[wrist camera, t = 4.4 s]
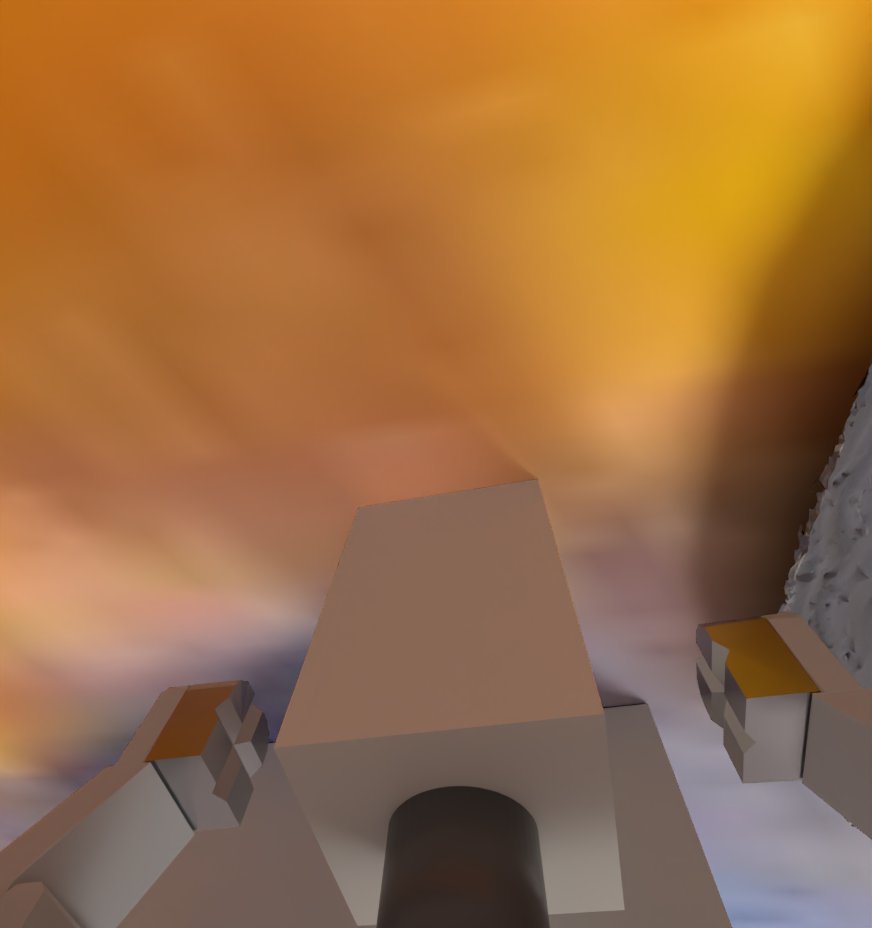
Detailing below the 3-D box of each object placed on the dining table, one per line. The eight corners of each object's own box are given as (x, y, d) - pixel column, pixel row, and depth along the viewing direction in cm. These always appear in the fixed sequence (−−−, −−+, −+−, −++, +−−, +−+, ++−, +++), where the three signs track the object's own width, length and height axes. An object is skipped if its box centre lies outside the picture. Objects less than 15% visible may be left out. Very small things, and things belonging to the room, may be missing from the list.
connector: (359, 507, 12) (202, 947, 5) (538, 478, 12) (663, 922, 4) (398, 642, 14) (327, 1125, 6) (557, 622, 13) (674, 1123, 6)
